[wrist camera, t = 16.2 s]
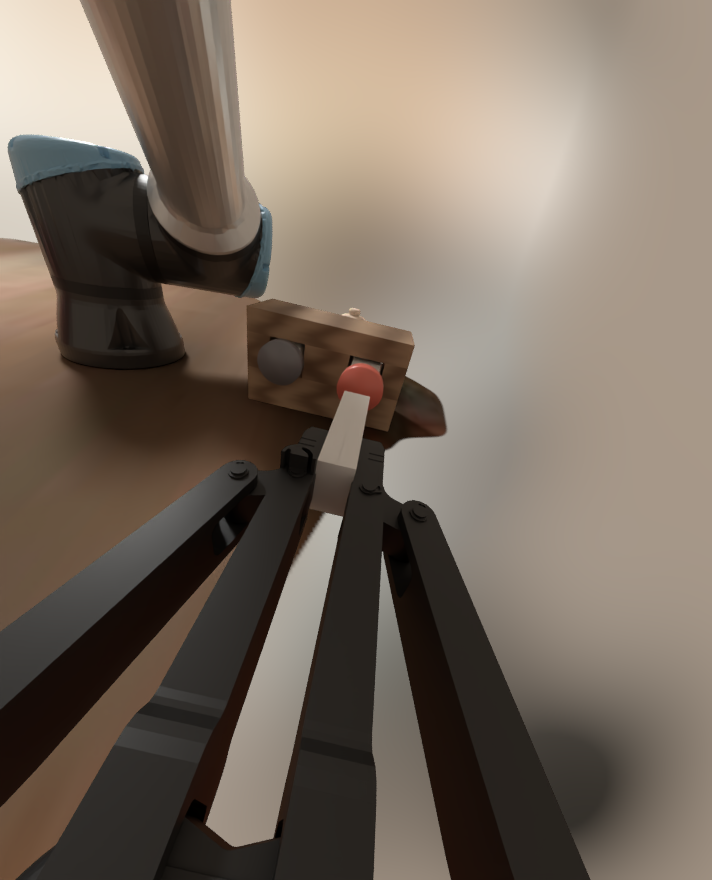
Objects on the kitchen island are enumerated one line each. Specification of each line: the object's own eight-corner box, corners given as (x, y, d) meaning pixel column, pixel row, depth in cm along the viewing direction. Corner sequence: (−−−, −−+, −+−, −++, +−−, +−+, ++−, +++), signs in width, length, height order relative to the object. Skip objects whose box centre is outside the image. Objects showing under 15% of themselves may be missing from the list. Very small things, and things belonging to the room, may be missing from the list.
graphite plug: (257, 379, 34) (257, 336, 31) (290, 352, 44) (292, 318, 41) (298, 389, 34) (302, 347, 31) (321, 360, 44) (325, 326, 42)
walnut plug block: (248, 398, 38) (246, 305, 32) (270, 378, 45) (272, 298, 39) (387, 431, 38) (414, 345, 32) (388, 406, 45) (411, 331, 39)
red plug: (333, 405, 32) (340, 362, 29) (348, 371, 43) (355, 336, 40) (376, 416, 32) (388, 374, 29) (381, 378, 43) (390, 345, 40)
